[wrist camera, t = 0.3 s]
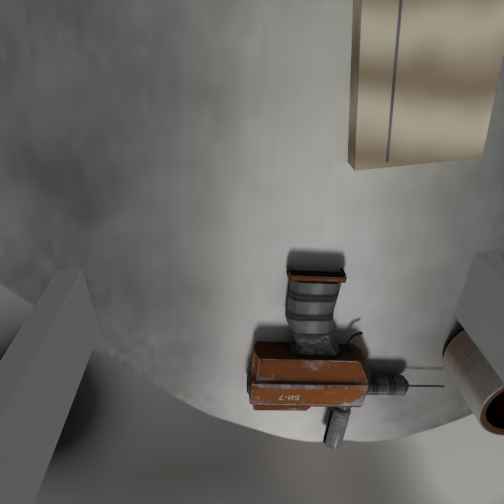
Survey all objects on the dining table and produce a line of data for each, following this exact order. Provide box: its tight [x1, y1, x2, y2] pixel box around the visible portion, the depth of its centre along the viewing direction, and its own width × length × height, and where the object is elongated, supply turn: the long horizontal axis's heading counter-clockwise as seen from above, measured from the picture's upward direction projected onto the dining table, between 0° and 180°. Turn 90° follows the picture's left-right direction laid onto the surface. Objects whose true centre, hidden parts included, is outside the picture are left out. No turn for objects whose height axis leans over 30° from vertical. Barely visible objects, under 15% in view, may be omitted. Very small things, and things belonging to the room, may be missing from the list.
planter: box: [443, 329, 504, 435], centre depth 51 cm, size 11×11×10 cm
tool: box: [247, 266, 444, 450], centre depth 54 cm, size 4×27×30 cm
